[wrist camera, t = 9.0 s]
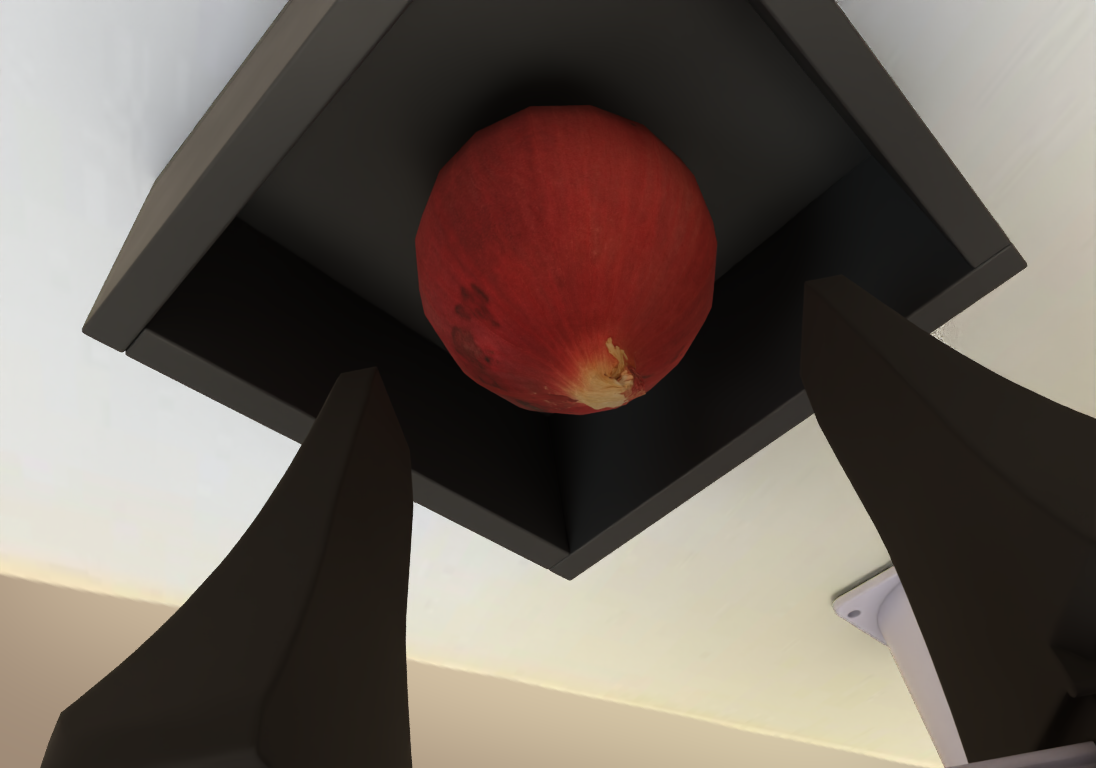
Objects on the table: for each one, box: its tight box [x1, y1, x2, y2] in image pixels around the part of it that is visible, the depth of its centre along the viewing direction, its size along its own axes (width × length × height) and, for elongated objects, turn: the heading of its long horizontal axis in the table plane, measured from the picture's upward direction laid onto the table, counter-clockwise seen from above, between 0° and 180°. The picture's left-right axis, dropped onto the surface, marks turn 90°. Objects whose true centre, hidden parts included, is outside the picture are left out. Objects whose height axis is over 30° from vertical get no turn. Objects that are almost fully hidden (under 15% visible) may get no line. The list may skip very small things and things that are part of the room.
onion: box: [415, 105, 717, 415], centre depth 16 cm, size 6×6×8 cm
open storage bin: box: [82, 0, 1027, 580], centre depth 18 cm, size 13×13×6 cm
